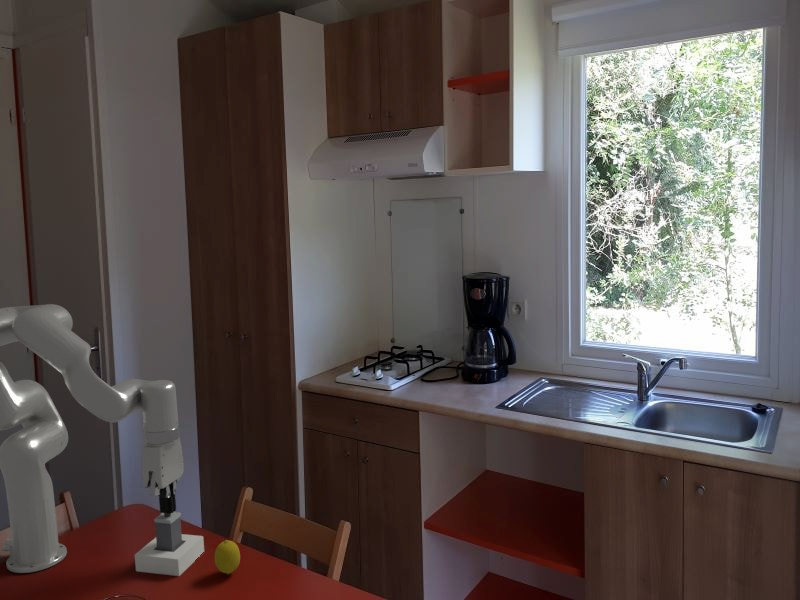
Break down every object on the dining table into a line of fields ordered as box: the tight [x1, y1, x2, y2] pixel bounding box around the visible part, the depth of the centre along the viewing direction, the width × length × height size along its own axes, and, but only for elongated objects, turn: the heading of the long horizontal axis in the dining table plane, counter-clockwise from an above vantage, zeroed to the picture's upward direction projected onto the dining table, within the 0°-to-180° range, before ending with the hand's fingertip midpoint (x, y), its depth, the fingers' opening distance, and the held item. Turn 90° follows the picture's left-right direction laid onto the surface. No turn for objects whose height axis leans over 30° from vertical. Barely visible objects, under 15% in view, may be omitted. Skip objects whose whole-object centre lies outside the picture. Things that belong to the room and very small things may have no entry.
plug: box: [153, 511, 183, 552], centre depth 158 cm, size 4×4×11 cm
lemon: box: [214, 539, 241, 575], centre depth 153 cm, size 6×6×8 cm
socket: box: [134, 533, 205, 577], centre depth 159 cm, size 11×11×4 cm
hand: (168, 511), depth 158 cm, fingers closed
